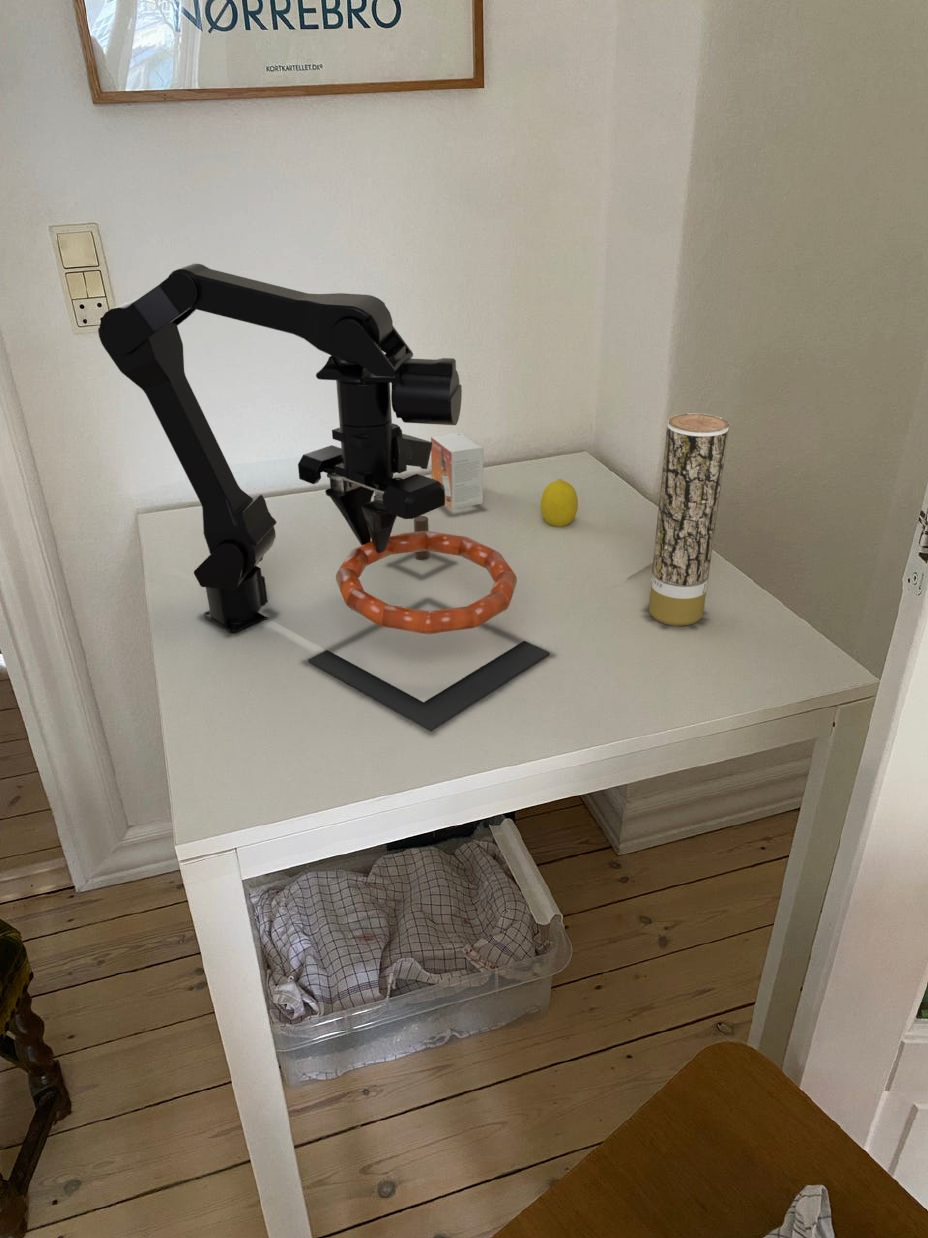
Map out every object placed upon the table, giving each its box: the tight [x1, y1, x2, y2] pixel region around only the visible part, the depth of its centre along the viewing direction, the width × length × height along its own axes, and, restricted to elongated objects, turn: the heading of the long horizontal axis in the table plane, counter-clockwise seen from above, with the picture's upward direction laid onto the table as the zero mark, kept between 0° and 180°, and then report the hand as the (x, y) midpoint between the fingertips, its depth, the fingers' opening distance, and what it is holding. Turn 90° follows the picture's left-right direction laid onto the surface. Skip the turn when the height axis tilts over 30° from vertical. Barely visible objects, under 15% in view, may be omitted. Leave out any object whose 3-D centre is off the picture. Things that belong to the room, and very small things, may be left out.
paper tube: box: [648, 412, 730, 627], centre depth 110 cm, size 7×7×25 cm
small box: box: [430, 431, 485, 510], centre depth 145 cm, size 8×6×10 cm
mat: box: [307, 640, 550, 732], centre depth 108 cm, size 20×20×1 cm
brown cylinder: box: [413, 515, 431, 561], centre depth 128 cm, size 6×6×7 cm
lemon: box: [539, 478, 579, 528], centre depth 137 cm, size 6×6×8 cm
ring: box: [335, 530, 518, 635], centre depth 104 cm, size 20×20×2 cm
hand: (373, 548), depth 108 cm, fingers closed on ring, 2 cm apart
